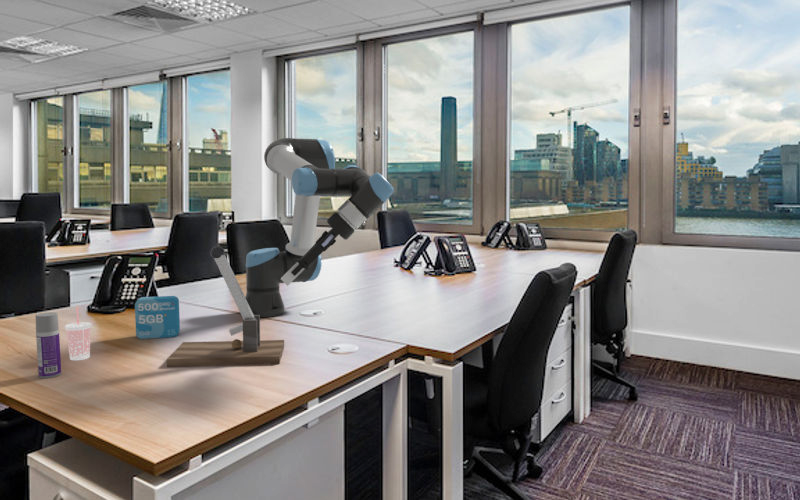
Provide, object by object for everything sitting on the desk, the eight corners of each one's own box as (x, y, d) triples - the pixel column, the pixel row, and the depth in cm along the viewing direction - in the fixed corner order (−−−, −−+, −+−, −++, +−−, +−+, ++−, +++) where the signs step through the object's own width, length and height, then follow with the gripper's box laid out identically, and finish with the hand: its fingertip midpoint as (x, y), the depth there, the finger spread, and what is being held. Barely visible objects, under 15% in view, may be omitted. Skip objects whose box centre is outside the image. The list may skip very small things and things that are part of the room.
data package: (136, 339, 169) (134, 300, 167) (138, 335, 173) (136, 297, 172) (179, 336, 172) (177, 298, 171) (180, 333, 176) (178, 295, 175)
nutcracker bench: (183, 349, 159) (182, 312, 158) (284, 346, 162) (283, 310, 161) (167, 366, 143) (165, 326, 142) (279, 363, 147) (278, 324, 146)
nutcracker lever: (234, 335, 154) (195, 254, 151) (260, 323, 155) (222, 243, 151) (231, 338, 151) (191, 256, 147) (259, 326, 151) (219, 244, 148)
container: (65, 372, 139) (62, 312, 137) (54, 378, 134) (50, 316, 132) (46, 372, 138) (42, 312, 137) (34, 378, 134) (30, 316, 132)
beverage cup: (87, 353, 154) (84, 302, 153) (97, 357, 150) (94, 305, 149) (62, 358, 150) (59, 306, 148) (72, 362, 146) (69, 309, 144)
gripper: (357, 232, 147) (292, 296, 147) (355, 228, 160) (295, 287, 160) (336, 211, 146) (271, 276, 145) (336, 209, 159) (276, 269, 158)
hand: (284, 282), depth 153 cm, fingers closed
